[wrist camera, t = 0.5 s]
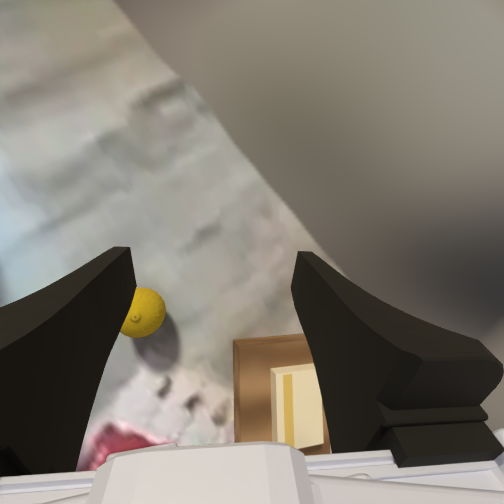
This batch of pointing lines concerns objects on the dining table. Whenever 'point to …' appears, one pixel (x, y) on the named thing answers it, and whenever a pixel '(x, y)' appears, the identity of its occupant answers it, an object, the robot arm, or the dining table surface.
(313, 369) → the cream rectangular block
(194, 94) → the dining table surface
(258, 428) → the brown wooden flat block
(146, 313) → the lemon
